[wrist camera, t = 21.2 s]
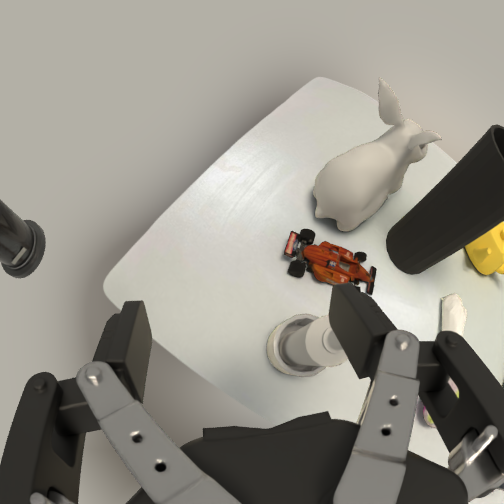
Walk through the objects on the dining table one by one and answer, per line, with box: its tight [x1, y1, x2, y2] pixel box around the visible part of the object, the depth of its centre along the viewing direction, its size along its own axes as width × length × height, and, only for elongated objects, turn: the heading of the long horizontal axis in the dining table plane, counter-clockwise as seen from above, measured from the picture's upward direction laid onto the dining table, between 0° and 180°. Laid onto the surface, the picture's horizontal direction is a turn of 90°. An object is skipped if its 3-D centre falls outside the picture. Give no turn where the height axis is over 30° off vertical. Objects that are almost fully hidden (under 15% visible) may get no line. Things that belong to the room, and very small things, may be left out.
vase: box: [386, 125, 504, 274], centre depth 37 cm, size 10×10×30 cm
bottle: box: [278, 315, 348, 367], centre depth 31 cm, size 5×5×25 cm
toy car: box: [284, 229, 376, 295], centre depth 46 cm, size 8×16×4 cm, turn 70°
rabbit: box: [313, 78, 442, 231], centre depth 42 cm, size 12×21×25 cm, turn 122°
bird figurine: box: [441, 293, 467, 336], centre depth 44 cm, size 5×7×10 cm
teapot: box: [465, 222, 504, 275], centre depth 48 cm, size 14×13×10 cm
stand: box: [267, 314, 326, 377], centre depth 40 cm, size 8×8×7 cm
